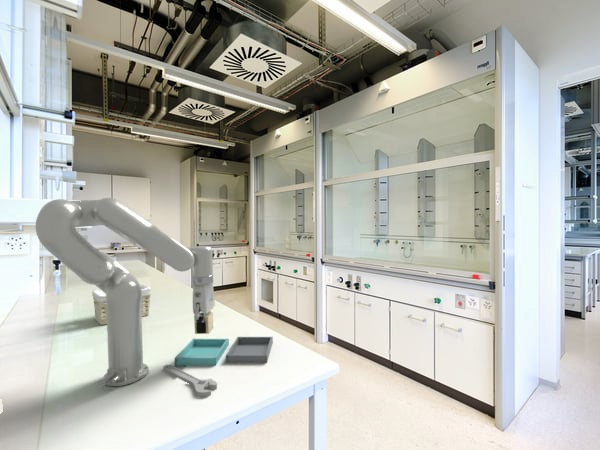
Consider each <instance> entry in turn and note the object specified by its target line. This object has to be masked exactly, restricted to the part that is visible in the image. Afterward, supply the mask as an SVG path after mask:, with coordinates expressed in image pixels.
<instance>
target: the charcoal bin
mask: <svg viewBox="0 0 600 450" xmlns="http://www.w3.org/2000/svg"><path fill="white" fill-rule="evenodd" d="M273 338H274V336H237V337H236V339H235V340H234V342H233V344H232V345H231V347H230V348H229V350H228V352H227V354H226V355H225V357H226V361H225V363H230V364H231V363H232V364H233V363H236V364H237V363H244V364H246V363H249V364H251V363H252V364H253V363H259V364H261V363H266V364H267V363H268V360H269V357H270V353H271V350H272V347H273V344H274V341H273V340H274V339H273Z"/></svg>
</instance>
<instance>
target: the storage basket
mask: <svg viewBox="0 0 600 450" xmlns="http://www.w3.org/2000/svg"><path fill="white" fill-rule="evenodd" d="M139 284H140V283H139ZM140 287H141V290H142V318H143V317H145V316H149V315H150V304H151V296H152V288H151V287H150V286H148V285H147V284H144V283H141V284H140ZM91 296H92V299H93V305H94V306H93V308H94V316H95V317H94V318H95V320H96V321H97V323H98V324H99V325H101V326H103V325H107V308H106V293H105V292H103V291H102V290H101V289H96V290H92V295H91Z"/></svg>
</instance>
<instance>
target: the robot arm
mask: <svg viewBox="0 0 600 450" xmlns="http://www.w3.org/2000/svg"><path fill="white" fill-rule="evenodd" d="M80 201H81V202H80ZM97 226H98V227H99V226H104V227H106V228H108V229H109V230H110V231H112V232H114V233H115V234H117V235H118V236H120V237H121V238H123V239H124V240H126V241H128V242H129V243H130V244H132V245H134V246H135V247H137V248H139V249H140V250H143V251H145V252H147V253H149V254H150V255H152V256H153V257H155V258H157V259H158V260H159V261H161V262H163V263H164V264H166V265H168V266H169V267H170V268H172V269H174V271H178V272H181V273H182V272H187V271H189V270H190V277H191V278H190V279H191V280H190V281H191V283H190V285H191V287H192V313H193V314H194V315H193V316H194V317H193V318H195V319H196V330H197V333H206V322H205V314H207V313H209V312H212V310H213V309H214V308H215V305H216V304H215V302H216V301H215V291H214V290H215V289H214V264H213V249H212V247H211V246H210V245H209V246H208V245H197V246H193V247H191V246H190V247H185V245H182V244H181V243H180V242H178V241H176V240H175V239H173V238H172V236H171V237H170V236H169V235H168V234H167V233H165V232H163V231H162V230H161V229H160V228H159V227H157V226H156V225H154V224H153V223H152V222H150V221H148V220H147V219H146V218H145V217H143V216H141V215H140V214H138V213H137V212H136V211H134V210H133V209H131V208H130V207H128V206H127V205H125V204H124V203H123V202H121V201H120V200H118V199H116V198H113V197H103V198H101V199H90V200H89V199H88V200H87V199H86V200H68V199H64V198H63V199H61V198H59V199H52V200H50V201H48V202H47V203H46V204H44V205H43V206H42V207H41V209H40V211H39V212H38V214H37V217H36V220H35V232H36V236H37V239H38V240H39V242H40V243H41V245H42V246H43V247H44V248H45V250H47V251H48V252H49V253H50V254H51V255H52V256H53V257H55V258H56V259H57V260H59V261H60V262H61V263H62V264H63V265H64V266H65V267H67V269H69V270H70V271H71V272H72V273H74V274H75V275H76V276H77V277H78V278H80V279H81V280H82V281H83V282H84V283H85V284H87V285H88V284H89V285H94V286H96V287H97V288H98V290H100V289H101V290H102V291H103V292H105V293H106V308H107V324H106V327H107V329H106V331H107V359H108V363H107V364H108V368H107V369H106V373H105V374H104V375H103V377H102V378H101V380H99V386H101V387H105V386H108V387H122V386H126V385H127V386H128V385H131V384H133V383H135V382H137V381H139V380H141V379H143V378H144V377H145V376H147V375H148V373H149V371H150V370H149V365H147V364H146V363H144V356H143V355H144V353H143V352H144V351H143V321H142V320H143V317H142V290H141V287H140V282H139V281H138V280H137V279H136V277H135V276H134V275H133V274H132V273H131V272H130V271H128V270H127V269H126V268H125V267H124V266H123V265H121V263H119V262H118V261H117V260H116V259H115V258H113V257H112V256H111V255H109V254H108V253H107V252H105V251H100V250H98V249H97V248H96V247H95V246H93V245H92V244H91V243H90V242H89V241H88V240H87V239H86V238H85V237H84V236H83V235H81V234H80V233H79V232H78V230H77V229H76V228H83V227H85V228H86V227H97ZM200 315H202V317H201V316H200Z"/></svg>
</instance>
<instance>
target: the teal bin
mask: <svg viewBox="0 0 600 450" xmlns="http://www.w3.org/2000/svg"><path fill="white" fill-rule="evenodd" d="M229 341H230V340H229V338H192V339H191V340H190V342H189V343H187V344H186V345H185V347H184V348H183V349H182V350H181V351H179V353H178V354H177V355H176V356H175V357H174V367H176V368H186V367H187V366H217V365H218V363H219V361H220V359H221V358H222V357H223V355H224V354H225V351H227V349H228V347H229V345H230V342H229Z"/></svg>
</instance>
